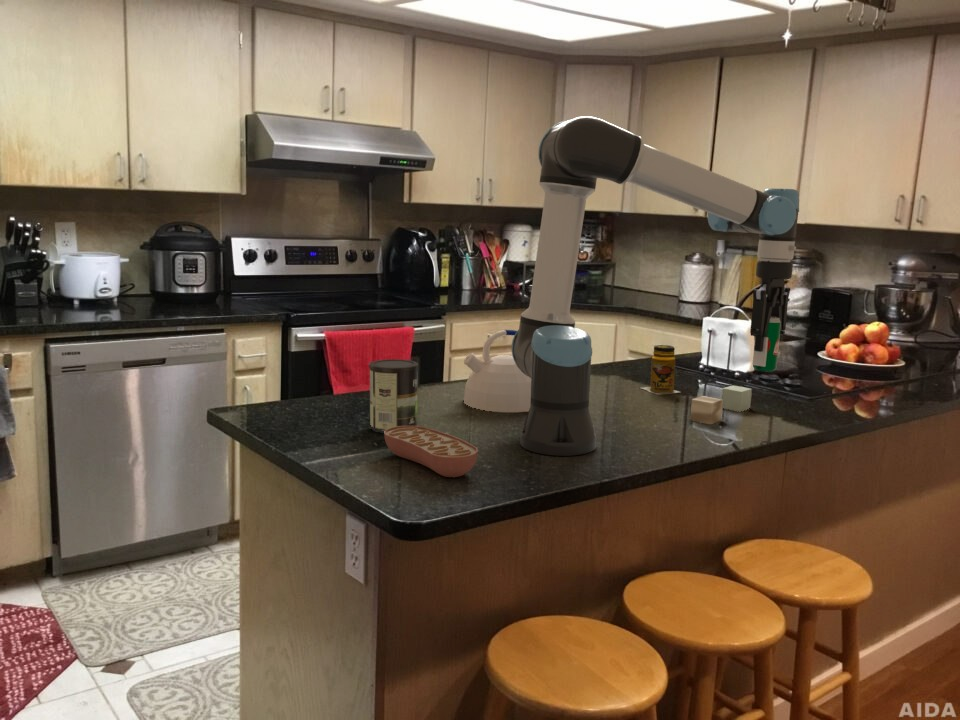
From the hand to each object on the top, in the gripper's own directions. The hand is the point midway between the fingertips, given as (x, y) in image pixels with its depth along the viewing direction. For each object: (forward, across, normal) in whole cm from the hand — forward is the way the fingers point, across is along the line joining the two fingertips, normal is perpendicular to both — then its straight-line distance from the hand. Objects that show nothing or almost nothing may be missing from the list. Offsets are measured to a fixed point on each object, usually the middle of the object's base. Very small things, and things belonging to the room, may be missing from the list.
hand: (764, 364), depth 189 cm
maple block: (+14, -8, +9) cm, 18 cm away
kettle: (+14, -30, +51) cm, 61 cm away
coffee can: (+15, -66, +51) cm, 84 cm away
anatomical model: (+15, -77, +26) cm, 83 cm away
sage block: (+13, +8, +10) cm, 18 cm away
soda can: (+2, 0, 0) cm, 2 cm away
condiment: (+14, +10, +33) cm, 37 cm away
